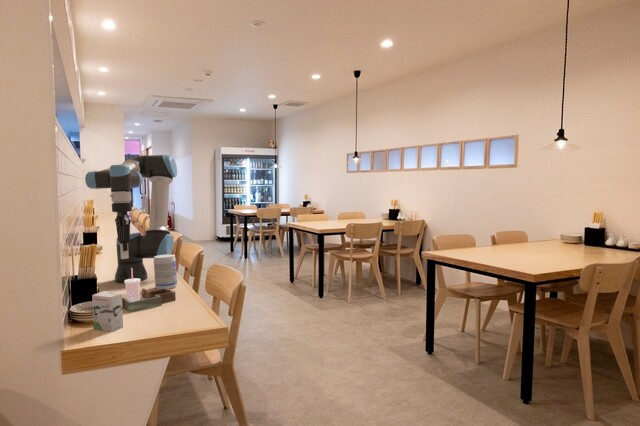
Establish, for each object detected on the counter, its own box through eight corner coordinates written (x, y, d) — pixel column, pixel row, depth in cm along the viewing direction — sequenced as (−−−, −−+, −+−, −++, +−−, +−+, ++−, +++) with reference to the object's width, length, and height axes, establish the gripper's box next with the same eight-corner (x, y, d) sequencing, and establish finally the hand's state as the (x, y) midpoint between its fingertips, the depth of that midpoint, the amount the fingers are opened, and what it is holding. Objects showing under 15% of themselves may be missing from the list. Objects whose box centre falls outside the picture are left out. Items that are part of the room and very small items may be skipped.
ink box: (92, 329, 142) (90, 294, 142) (105, 324, 147) (103, 290, 146) (112, 332, 139) (110, 296, 138) (124, 327, 144) (122, 292, 143)
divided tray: (95, 305, 171) (95, 297, 170) (160, 293, 188) (160, 285, 187) (109, 316, 156) (109, 307, 156) (178, 301, 173) (178, 293, 173)
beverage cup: (134, 304, 171) (131, 269, 170) (122, 303, 174) (119, 268, 173) (145, 300, 177) (143, 266, 176) (133, 299, 179) (131, 265, 178)
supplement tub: (179, 287, 197) (178, 256, 196) (158, 291, 192) (156, 258, 191) (174, 283, 205) (172, 253, 204) (153, 287, 200) (151, 255, 199)
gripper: (107, 202, 181) (110, 258, 182) (116, 202, 171) (120, 261, 173) (126, 201, 186) (129, 255, 187) (136, 202, 176) (139, 259, 177)
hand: (124, 258), depth 180 cm, fingers closed
